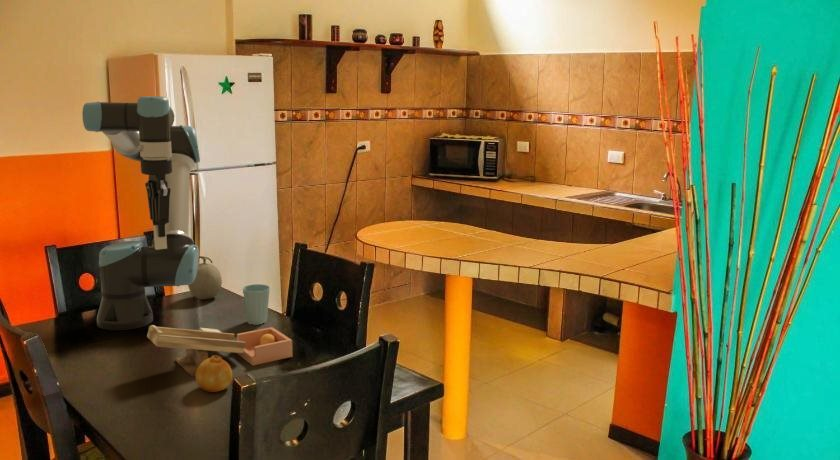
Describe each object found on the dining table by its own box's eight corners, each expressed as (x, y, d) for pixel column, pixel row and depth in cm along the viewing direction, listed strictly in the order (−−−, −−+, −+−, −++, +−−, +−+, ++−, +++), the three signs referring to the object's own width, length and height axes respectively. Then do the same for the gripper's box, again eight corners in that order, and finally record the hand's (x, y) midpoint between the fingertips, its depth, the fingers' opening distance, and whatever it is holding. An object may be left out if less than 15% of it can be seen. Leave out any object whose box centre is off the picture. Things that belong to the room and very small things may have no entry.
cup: (273, 324, 216) (272, 289, 214) (246, 327, 213) (245, 292, 210) (267, 316, 222) (266, 283, 220) (241, 319, 219) (240, 285, 217)
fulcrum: (175, 360, 187) (174, 342, 186) (202, 355, 191) (202, 337, 190) (191, 376, 178) (191, 357, 177) (220, 370, 182) (219, 351, 181)
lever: (136, 326, 187) (139, 314, 187) (218, 333, 200) (220, 322, 200) (156, 346, 173) (160, 333, 173) (243, 352, 187) (246, 340, 187)
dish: (233, 350, 194) (233, 334, 194) (272, 342, 201) (272, 327, 200) (252, 365, 185) (252, 348, 184) (292, 356, 191) (292, 340, 190)
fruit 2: (244, 374, 173) (226, 346, 172) (228, 391, 166) (208, 361, 165) (218, 387, 176) (200, 359, 175) (201, 404, 169) (182, 375, 168)
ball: (265, 328, 196) (274, 338, 198) (254, 339, 195) (263, 349, 197) (271, 333, 193) (280, 342, 195) (260, 344, 191) (269, 354, 194)
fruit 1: (228, 294, 244) (227, 249, 241) (213, 304, 233) (211, 258, 230) (199, 291, 246) (197, 247, 243) (182, 301, 235) (180, 256, 232)
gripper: (133, 156, 191) (138, 245, 196) (148, 161, 181) (154, 255, 186) (162, 154, 195) (167, 242, 200) (179, 160, 185) (183, 251, 190)
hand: (160, 248), depth 193 cm, fingers closed
